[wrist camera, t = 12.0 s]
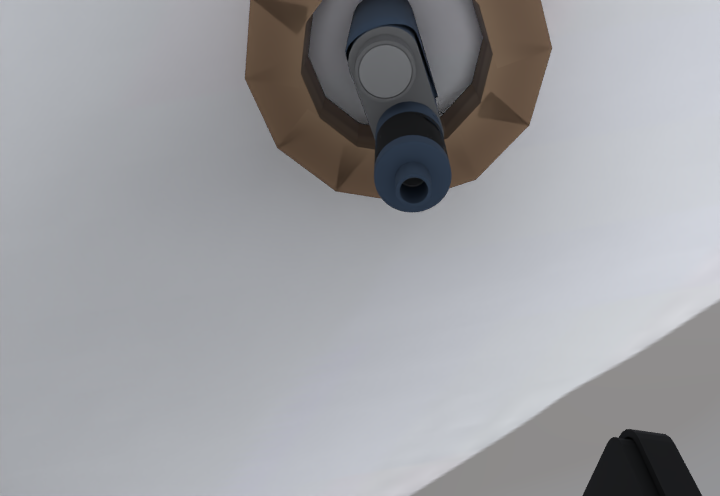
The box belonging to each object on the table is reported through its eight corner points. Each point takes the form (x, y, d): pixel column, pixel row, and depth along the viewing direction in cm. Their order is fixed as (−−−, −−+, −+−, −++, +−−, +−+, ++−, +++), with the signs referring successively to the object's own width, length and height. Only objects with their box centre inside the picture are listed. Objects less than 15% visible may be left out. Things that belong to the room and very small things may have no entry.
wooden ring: (492, 189, 32) (502, 217, 29) (250, 151, 31) (238, 176, 29) (568, -79, 26) (588, -75, 23) (272, -132, 25) (259, -133, 23)
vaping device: (384, 114, 30) (384, 239, 20) (345, 0, 28) (322, 74, 17) (439, 96, 30) (468, 215, 19) (403, -22, 27) (415, 41, 17)
